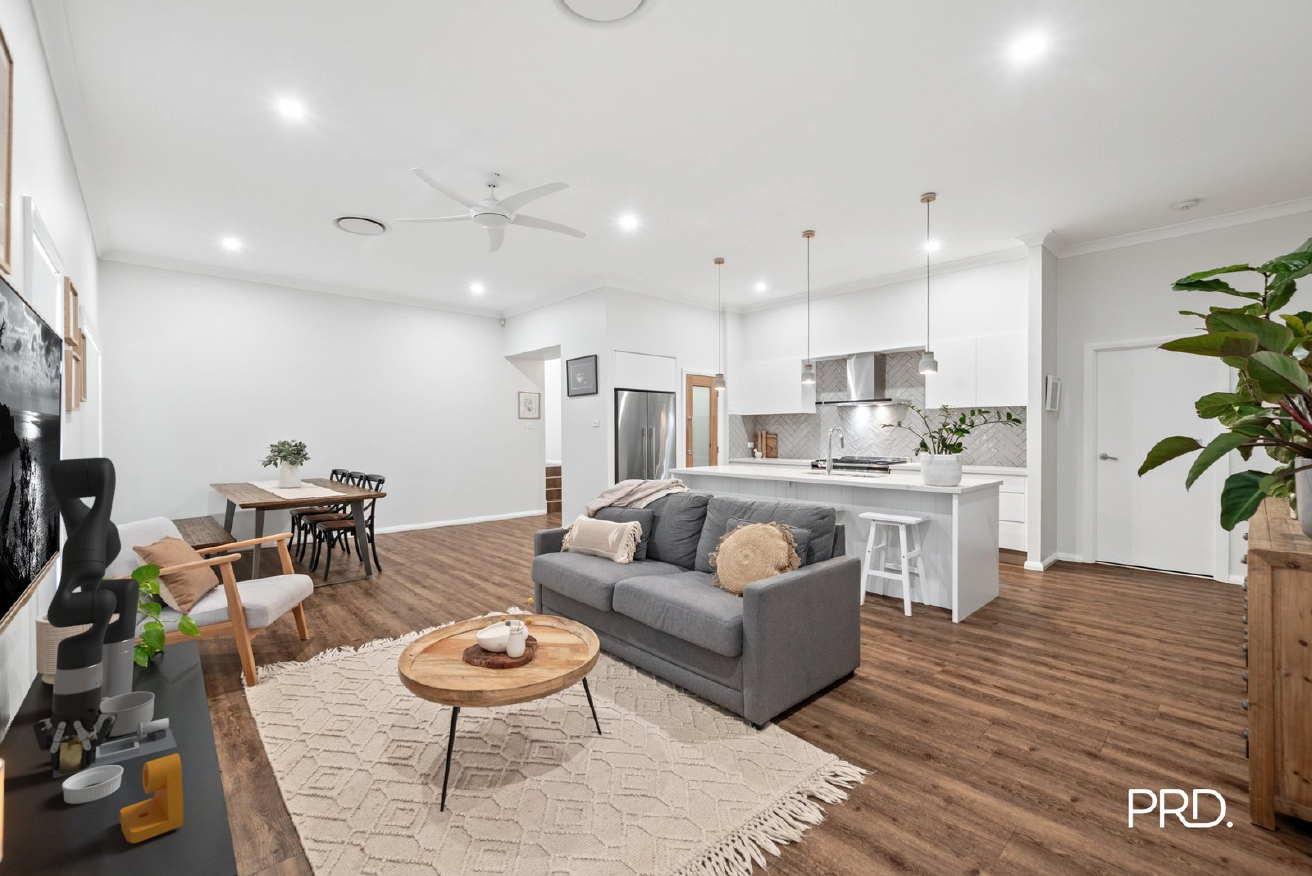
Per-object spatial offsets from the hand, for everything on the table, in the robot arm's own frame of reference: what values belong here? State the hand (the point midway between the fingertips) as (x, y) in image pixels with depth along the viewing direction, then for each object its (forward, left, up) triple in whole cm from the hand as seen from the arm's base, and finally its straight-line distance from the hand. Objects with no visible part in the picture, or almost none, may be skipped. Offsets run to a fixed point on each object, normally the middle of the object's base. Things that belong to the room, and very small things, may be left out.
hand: (73, 766), depth 126 cm
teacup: (-12, +16, -2) cm, 20 cm away
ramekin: (+13, -5, -2) cm, 14 cm away
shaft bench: (0, +8, -1) cm, 8 cm away
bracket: (+33, -8, -2) cm, 34 cm away
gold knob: (0, 0, 0) cm, 0 cm away
